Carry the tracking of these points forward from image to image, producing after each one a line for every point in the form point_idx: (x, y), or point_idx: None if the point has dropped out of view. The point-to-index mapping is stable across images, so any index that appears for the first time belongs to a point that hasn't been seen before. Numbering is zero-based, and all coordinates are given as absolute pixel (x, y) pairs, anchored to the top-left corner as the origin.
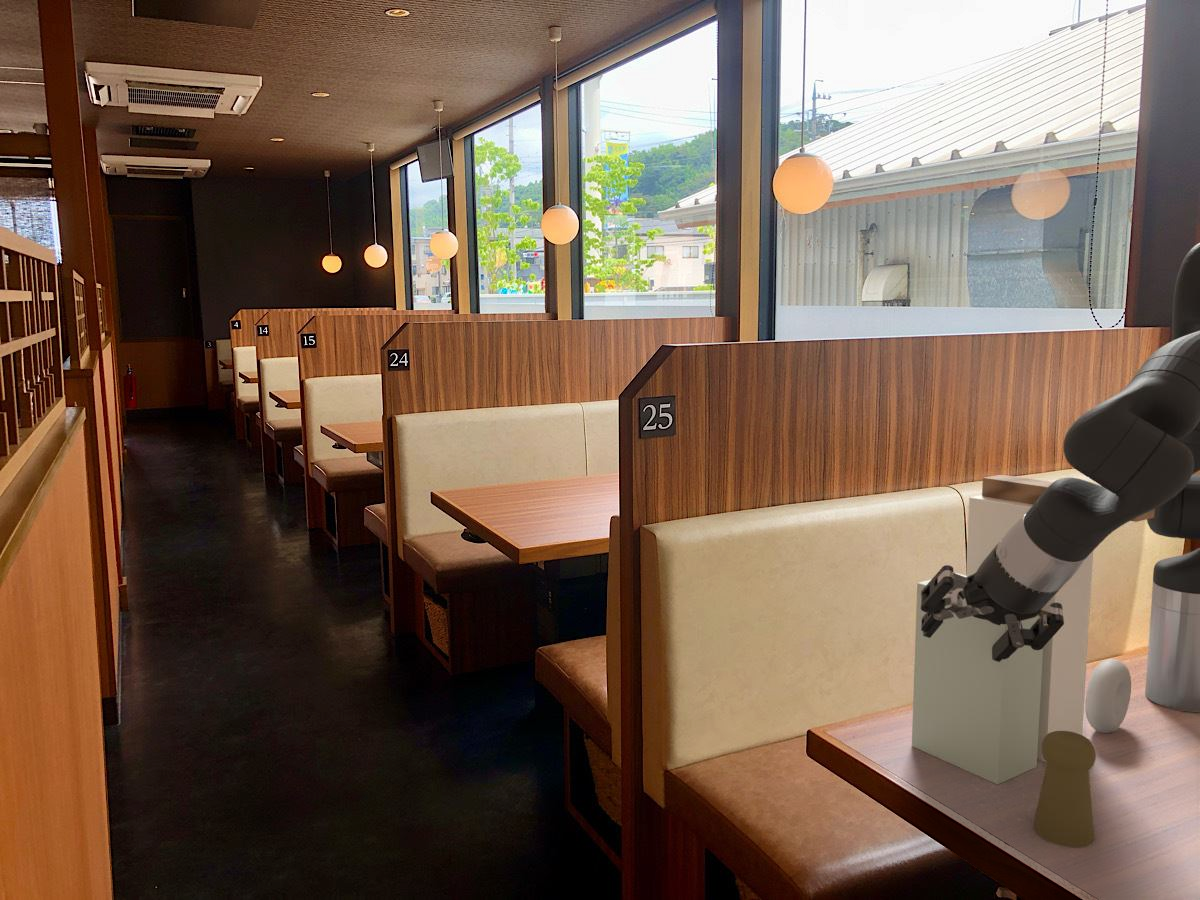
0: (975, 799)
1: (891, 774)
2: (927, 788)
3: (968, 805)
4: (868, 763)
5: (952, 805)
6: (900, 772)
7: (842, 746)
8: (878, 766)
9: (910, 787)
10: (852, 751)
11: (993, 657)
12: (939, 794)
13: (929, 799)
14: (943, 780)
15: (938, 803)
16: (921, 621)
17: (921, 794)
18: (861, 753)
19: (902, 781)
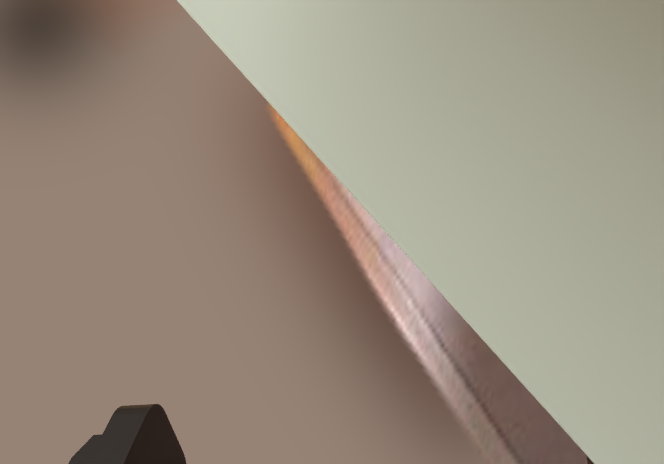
0: None
1: (400, 294)
2: (477, 360)
3: (572, 447)
4: (355, 244)
5: (528, 447)
6: (422, 280)
7: (307, 164)
8: (375, 256)
9: (437, 358)
10: (326, 186)
11: (589, 458)
12: (503, 390)
13: (474, 418)
14: None
15: (494, 438)
16: (94, 437)
17: (458, 393)
18: (344, 192)
19: (422, 328)
